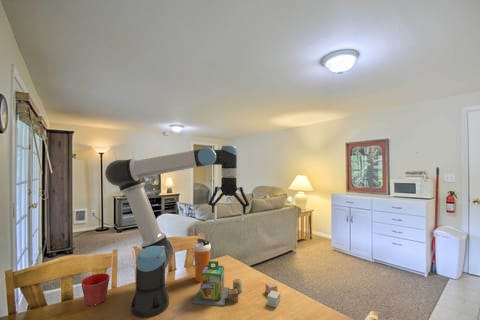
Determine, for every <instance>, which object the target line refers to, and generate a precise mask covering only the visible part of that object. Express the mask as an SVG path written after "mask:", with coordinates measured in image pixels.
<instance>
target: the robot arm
mask: <svg viewBox="0 0 480 320" xmlns="http://www.w3.org/2000/svg"><path fill="white" fill-rule="evenodd" d="M237 156H238V153H237V147H236V145H222V146H221V149H213V148H211V147H207V146H206V147H203V148H198V149H195V150H189V151H183V152H177V153H172V154H166V155H161V156H154V157H150V158H143V159H139V160H136V159H134V158H130V159H116V160H114V161H111V162H110V163H109V164H108V165H107V166H106V168H105V171H104V175H105V176H104V177H105V179H106V181H108V182H109V183H110V184H111V185H113V186H116V187H118V189H119V192H120V193H123V194H125V197H126V199H127V203H128V205H129V206H130V209H131V212H132V214H133V217H134V221H135V223H136V225H137V229H138V231H139V233H140V236H141V238H142V243H141V249H140V250H139V251H138V253H137V254H136V257H135V291H134V294H133V297H132V301H131V304H130V311H131V314H132V315H133V316H135V317H138V318H151V317H154V316H157V315H159V314H161V313H163V312H164V311H166V309H168V307H169V305H170V297H169V292H168V290H167V288H166V268H167V267H168V265H169V264H170V261H171V260H172V257H173V255H174V254H173V253H174V247H173V244H172V242H171V241H170V240H169V239H168V238H167V236H166V234H165V233H162V231H161V229H160V226H159V223H158V221H157V218H156V216H155V213H154V211H153V208H152V205H151V203H150V200H149V198H148V195H147V192H146V190H145V185H146V183H147V182H146V179H145V178H147V177H151V176H157V175H163V174H169V173H172V172H173V173H174V172H178V171H184V170H188V169H189V170H190V169H193V168H201V167H207V166H210V165H211V166H219V165H220V167H221V172H220V173H221V175H220V176H221V178H220V180H221V184H220V185H221V186H218V185H217V186H214V191H213V193H212V195H211V197H210V199H209V201H208V202H207V203H208V206H211V213H213V221H217V214H218V213H217V212H218V211H217V210H218V209H217V208H218V207H217V204H218V202H219V201H220V200H221V199H222V197H223V196H225V197H228V196H229V197H234V198H235V199H236V200H237V201H238V203H239V204H240V205H241V208H240V209H241V212H240V213H241V215H240V216H241V219H240V221H241V222H244V215H245V214H246V213H247V212H246V211H247V209H246V208H247V207H250V202H249V200H248V198H247V196H246V194H245V192H244V187H243V186H240V187H238V186H237V182H238V181H237V174H238V173H237V171H238V170H237V168H238V166H237V163H238V162H237V161H238V158H237ZM219 191H221V193H220V194H219V196H218V197H217V198H216V199H215V197H216V196H217V194H218V192H219ZM237 191H238V192H240V194H241V197H242V199H243V200H242V199H241V197H240V196H239V194H238V193H237Z"/></svg>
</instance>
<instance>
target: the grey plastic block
mask: <svg viewBox="0 0 480 320" xmlns="http://www.w3.org/2000/svg"><path fill="white" fill-rule="evenodd" d="M280 302H281V292H280V291H277V292H276V291H272V290H271V292H270V293H269V295H268V294H267V306H269V307H272V308H273V307H274V308H278V307H279V304H280Z"/></svg>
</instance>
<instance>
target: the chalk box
mask: <svg viewBox="0 0 480 320" xmlns="http://www.w3.org/2000/svg"><path fill="white" fill-rule="evenodd" d="M224 285H225V265H219V261H218V260H217V261H216V260H210V261H209V262H208V265H206V266H205V268H204V269H203V271H202V273H201V282H200V287H201V297H200V299H207V300H219V301H220V300H221V297H222V293H223V290H224V287H225V286H224Z"/></svg>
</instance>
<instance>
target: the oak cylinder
mask: <svg viewBox="0 0 480 320" xmlns="http://www.w3.org/2000/svg"><path fill="white" fill-rule="evenodd" d="M242 284H243V283H242V279H239V278H235V279H233V280H232V289H237V291H238V295H239V294H241V293H242V291H243V290H242Z"/></svg>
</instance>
